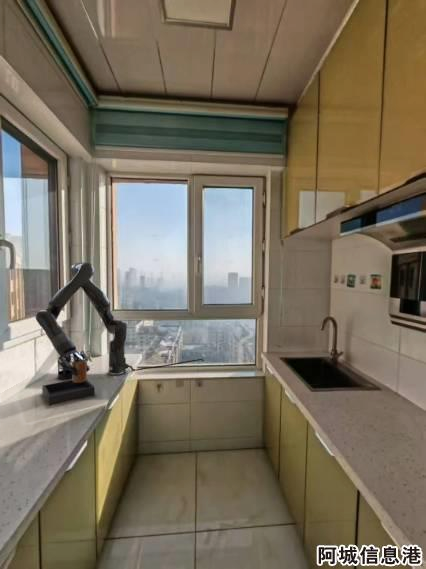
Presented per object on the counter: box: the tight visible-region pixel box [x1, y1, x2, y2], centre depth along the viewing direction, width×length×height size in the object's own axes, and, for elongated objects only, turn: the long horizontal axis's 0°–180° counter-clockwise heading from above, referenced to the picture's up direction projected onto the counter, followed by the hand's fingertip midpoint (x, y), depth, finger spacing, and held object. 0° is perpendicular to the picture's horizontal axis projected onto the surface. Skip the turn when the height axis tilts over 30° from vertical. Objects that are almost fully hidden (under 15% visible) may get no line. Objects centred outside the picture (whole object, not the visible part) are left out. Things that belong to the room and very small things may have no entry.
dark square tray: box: [41, 379, 95, 406], centre depth 142 cm, size 20×17×5 cm
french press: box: [57, 356, 73, 381], centre depth 168 cm, size 12×9×23 cm
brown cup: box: [71, 358, 88, 383], centre depth 132 cm, size 6×6×9 cm
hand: (82, 372), depth 131 cm, fingers closed on brown cup, 6 cm apart
